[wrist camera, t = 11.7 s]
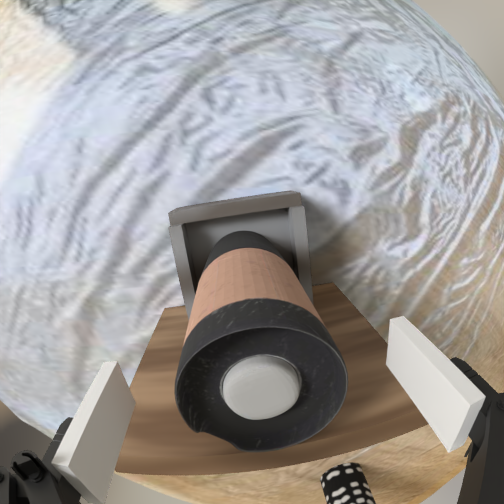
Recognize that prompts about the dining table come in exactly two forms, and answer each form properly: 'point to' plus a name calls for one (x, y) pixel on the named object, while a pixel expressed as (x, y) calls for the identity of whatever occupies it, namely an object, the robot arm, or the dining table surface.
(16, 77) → the dining table surface
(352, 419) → the l-shaped stand
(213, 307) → the travel mug
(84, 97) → the dining table surface
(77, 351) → the dining table surface
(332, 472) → the white-spotted black cylinder
